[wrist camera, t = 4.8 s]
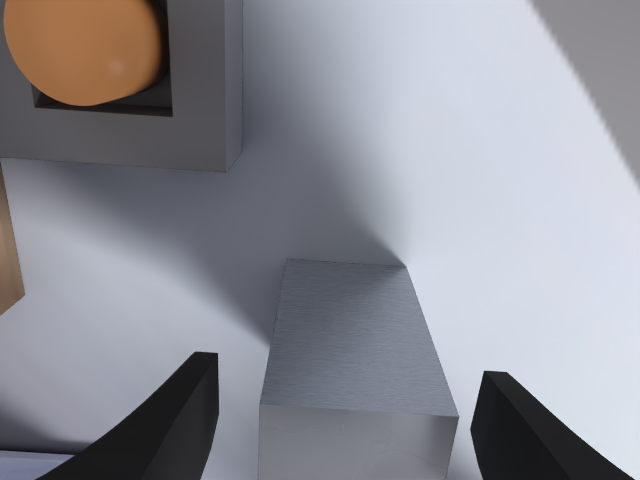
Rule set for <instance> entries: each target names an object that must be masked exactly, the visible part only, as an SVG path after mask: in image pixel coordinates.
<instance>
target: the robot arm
mask: <svg viewBox="0 0 640 480" xmlns="http://www.w3.org/2000/svg"><path fill="white" fill-rule="evenodd" d="M218 416H219V384H218V353H209V352H194V353H193V354H192V355H191V356H190V357H189V358H188V359H187V360H186V361H185V362H184V363H183V364H182V365H181V366H180V367H179V368H178V369H177V370H176V371H175V372H174V373H173V374H172V375H171V376H170V377H169V378H168V379H167V380H166V381H165V382H164V383H163V384H162V385H161V386H160V387H159V388H158V389H157V390H156V391H155V392H154V393H153V394H152V395H151V396H150V397H149V398H148V399H147V400H146V401H144V402H143V403H142V404H141V405H140V406H139V407H138V408H136V409H135V410H134V411H133V412H132V413H131V414H129V415H128V416H127V417H126V418H125V419H124V420H122V421H121V422H120V423H119V424H118V425H116V426H115V427H114V428H113V429H111V430H110V431H109V432H107V433H106V434H105V435H104V436H102V437H101V438H99V439H98V440H97V441H95V442H94V443H93V444H91V445H90V446H88V447H87V448H85V449H84V450H83V451H81V452H79V453H78V454H76V455H63V454H47V453H31V452H15V451H0V480H200V479H201V476H202V473H203V470H204V468H205V465H206V462H207V459H208V456H209V453H210V450H211V447H212V442H213V438H214V434H215V429H216V425H217V420H218ZM470 431H471V435H472V440H473V445H474V449H475V454H476V458H477V462H478V466H479V469H480V472H481V474H482V477H483V480H635V479H633V478H632V477H630V476H629V475H628V474H626V473H625V472H623V471H622V470H621V469H619V468H618V467H616V466H615V465H614V464H612V463H611V462H610V461H608V460H607V459H606V458H605V457H603V456H602V455H601V454H600V453H598V452H597V451H596V450H595V449H593V448H592V447H591V446H590V445H588V444H587V443H586V442H585V441H583V440H582V439H581V438H580V437H579V436H577V435H576V434H575V433H574V432H573V431H572V430H570V429H569V428H568V427H567V426H566V425H565V424H564V423H562V422H561V421H560V420H559V419H558V418H557V417H556V416H555V415H553V414H552V413H551V412H550V411H549V410H548V409H547V408H546V407H545V406H544V405H542V404H541V403H540V402H539V401H538V400H537V399H536V398H535V397H534V396H533V395H532V394H531V393H529V392H528V391H527V390H526V389H525V388H524V387H523V386H522V385H521V384H520V383H519V382H517V381H516V380H515V379H514V378H513V377H512V376H511V375H509V374H508V373H507V372H497V371H484V373H483V378H482V382H481V386H480V390H479V394H478V399H477V403H476V407H475V411H474V416H473V420H472V424H471V428H470Z"/></svg>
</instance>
